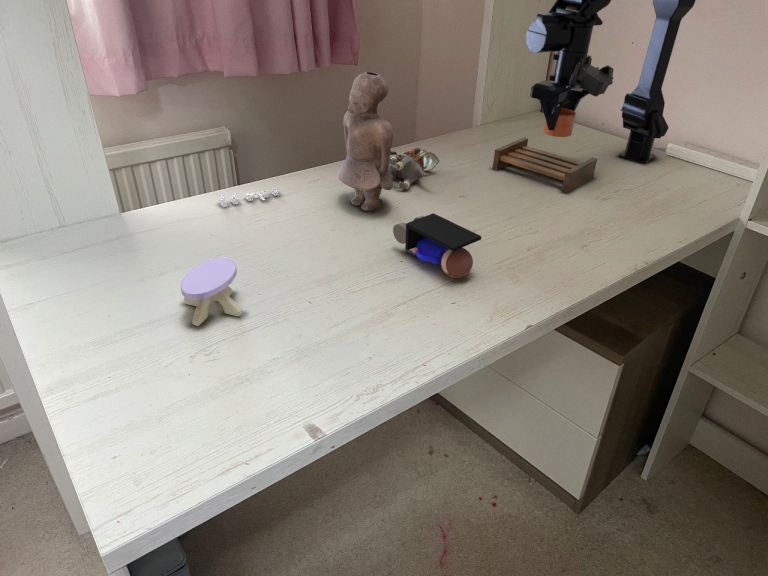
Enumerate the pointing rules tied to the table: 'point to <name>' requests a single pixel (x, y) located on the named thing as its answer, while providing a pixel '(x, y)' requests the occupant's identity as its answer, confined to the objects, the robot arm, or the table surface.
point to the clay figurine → (367, 142)
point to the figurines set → (248, 197)
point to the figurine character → (438, 243)
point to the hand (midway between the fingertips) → (558, 127)
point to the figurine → (411, 165)
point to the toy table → (210, 287)
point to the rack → (545, 163)
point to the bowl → (562, 124)
